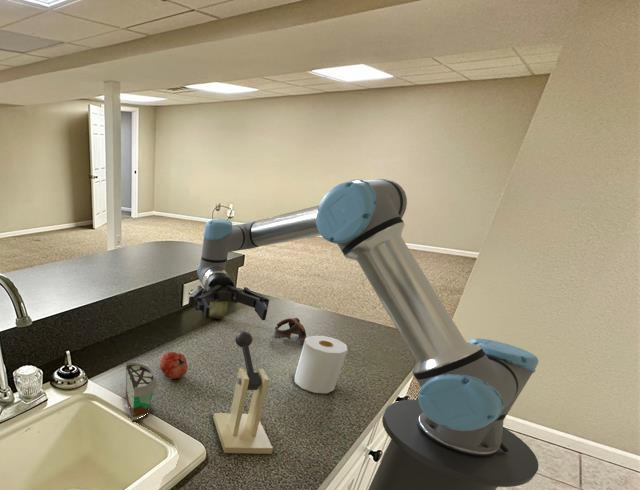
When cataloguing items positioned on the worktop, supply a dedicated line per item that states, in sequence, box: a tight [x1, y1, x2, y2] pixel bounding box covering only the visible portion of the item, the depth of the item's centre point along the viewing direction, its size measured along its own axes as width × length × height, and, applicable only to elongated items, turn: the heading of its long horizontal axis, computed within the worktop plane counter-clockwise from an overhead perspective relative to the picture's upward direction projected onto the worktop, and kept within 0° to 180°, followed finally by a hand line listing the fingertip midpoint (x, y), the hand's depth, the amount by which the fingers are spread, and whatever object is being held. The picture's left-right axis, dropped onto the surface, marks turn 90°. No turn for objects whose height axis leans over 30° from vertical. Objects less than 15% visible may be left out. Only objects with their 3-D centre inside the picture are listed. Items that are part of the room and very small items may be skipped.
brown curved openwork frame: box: [273, 317, 307, 346], centre depth 132 cm, size 12×10×8 cm
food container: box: [125, 361, 158, 423], centre depth 94 cm, size 12×6×10 cm, turn 9°
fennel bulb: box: [209, 301, 229, 320], centre depth 144 cm, size 6×5×12 cm
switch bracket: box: [212, 367, 274, 455], centre depth 85 cm, size 12×10×16 cm
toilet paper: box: [294, 335, 348, 394], centre depth 106 cm, size 10×10×12 cm
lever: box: [234, 330, 261, 391], centre depth 85 cm, size 14×4×4 cm, turn 0°
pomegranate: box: [159, 351, 189, 380], centre depth 109 cm, size 7×7×10 cm
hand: (236, 314), depth 95 cm, fingers open, 13 cm apart
